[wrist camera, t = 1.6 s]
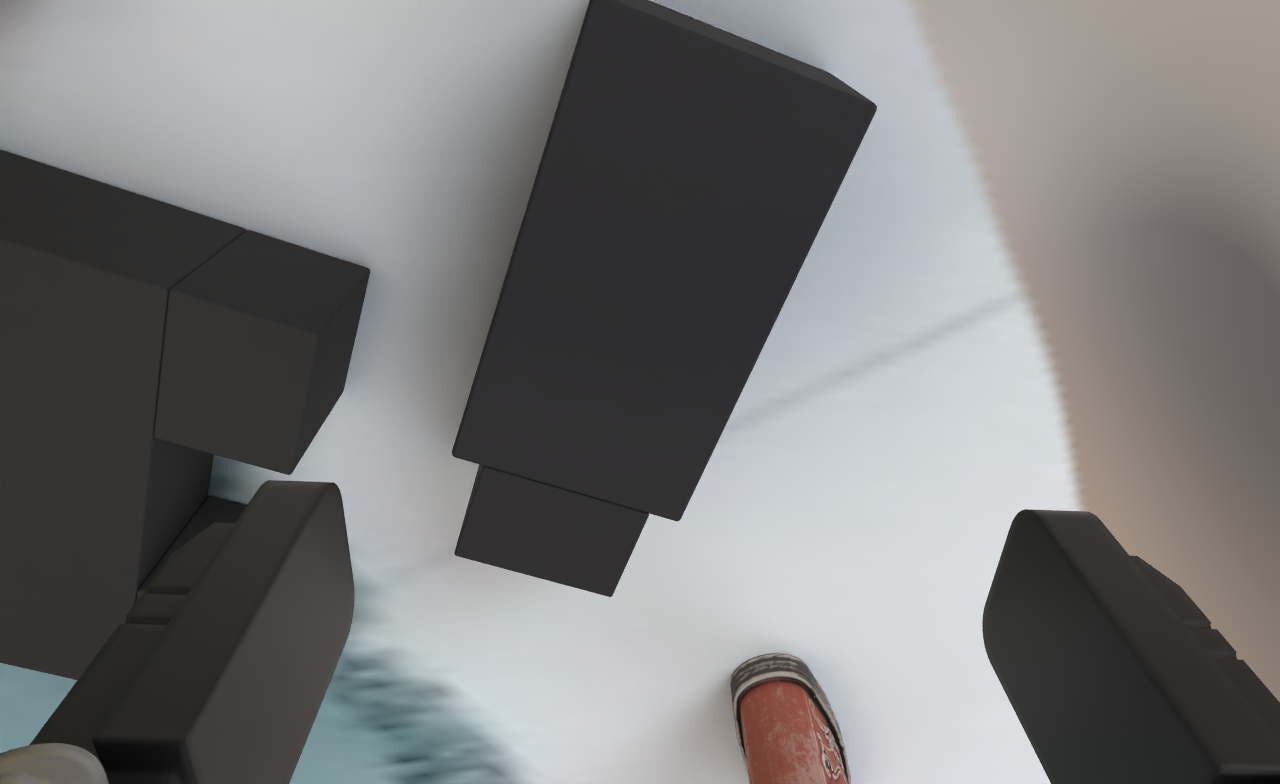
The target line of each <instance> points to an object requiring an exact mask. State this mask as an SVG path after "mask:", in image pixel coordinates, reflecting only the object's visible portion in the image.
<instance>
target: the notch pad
mask: <svg viewBox="0 0 1280 784" xmlns="http://www.w3.org/2000/svg"><path fill="white" fill-rule="evenodd" d="M369 274H370V269H368V268H365V267H362V266H359V265H356V264H353V263H350V262H347V261H343V260H340V259H337V258H334V257H331V256H328V255H325V254H322V253H319V252H316V251H312V250H309V249H306V248H303V247H300V246H297V245H294V244H291V243H288V242H285V241H281V240H278V239H275V238H272V237H269V236H266V235H263V234H260V233H257V232H254V231H250V230H247V231H246V230H245V229H244V228H241V227H238V226H235V225H232V224H228V223H225V222H222V221H219V220H216V219H213V218H210V217H207V216H204V215H201V214H197V213H194V212H191V211H188V210H185V209H182V208H179V207H176V206H173V205H170V204H167V203H163V202H160V201H157V200H154V199H151V198H148V197H145V196H142V195H139V194H136V193H132V192H129V191H126V190H123V189H120V188H117V187H114V186H111V185H108V184H105V183H101V182H98V181H95V180H92V179H89V178H86V177H83V176H80V175H77V174H74V173H70V172H67V171H64V170H61V169H58V168H55V167H52V166H49V165H46V164H43V163H39V162H36V161H33V160H30V159H27V158H24V157H21V156H18V155H15V154H12V153H9V152H5V151H2V150H0V663H4V664H9V665H13V666H18V667H22V668H27V669H31V670H35V671H40V672H44V673H49V674H53V675H58V676H62V677H67V678H71V679H76V680H78V679H79V678H80V677H81V675H82V674H83V673H84V671H85V670H86V669H87V667H88V666H89V665H90V663H91V662H92V661H93V659H94V658H95V657H96V655H97V654H98V653H99V651H100V650H101V648H102V647H103V646H104V644H105V643H106V642H107V640H108V639H109V638H110V636H111V635H112V634H113V632H114V631H115V630H116V628H117V627H118V626H119V624H124V623H125V621H126V615H127V614H128V612H129V611H130V610H131V608H132V607H133V606H134V604H135V603H136V601H137V600H138V599H139V597H140V596H141V595H142V593H146V594H147V591H148V585H149V584H150V583H151V581H152V580H153V579H154V577H155V576H156V575H157V573H158V572H159V571H160V569H161V568H162V567H163V565H164V564H165V563H166V561H167V560H168V558H169V557H170V556H171V554H172V553H173V552H174V551H175V550H176V549H178V548H179V547H181V546H182V545H184V544H185V543H186V542H188V541H189V540H191V539H192V538H193V537H195V536H196V535H198V534H199V533H200V532H202V531H203V530H205V529H206V528H208V527H209V526H210V525H212V524H213V523H236V522H237V520H238V519H239V517H240V516H241V514H242V513H243V511H244V510H245V508H246V507H247V506H245V505H242V504H238V503H234V502H230V501H227V500H223V499H219V498H215V497H212V496H209V497H207V494H208V487H209V480H210V474H211V467H212V460H213V454H215V455H218V456H222V457H226V458H229V459H233V460H236V461H240V462H244V463H247V464H251V465H255V466H258V467H262V468H266V469H269V470H273V471H276V472H280V473H284V474H287V475H290V474H291V473H292V472H293V470H294V469H295V467H296V466H297V464H298V462H299V461H300V459H301V458H302V456H303V455H304V453H305V451H306V450H307V448H308V447H309V445H310V443H311V442H312V440H313V439H314V437H315V435H316V434H317V432H318V431H319V429H320V427H321V426H322V424H323V423H324V421H325V419H326V418H327V416H328V415H329V413H330V411H331V410H332V408H333V407H334V405H335V403H336V402H337V400H338V399H339V397H340V396H341V394H342V392H343V390H344V386H345V381H346V377H347V372H348V368H349V363H350V359H351V354H352V350H353V345H354V341H355V336H356V332H357V328H358V323H359V319H360V314H361V310H362V305H363V301H364V296H365V292H366V287H367V283H368V278H369Z"/></svg>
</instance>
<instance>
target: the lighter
mask: <svg viewBox="0 0 1280 784" xmlns="http://www.w3.org/2000/svg"><path fill="white" fill-rule="evenodd" d="M731 692H732V701H733V710H734V718H735V725H736V733H737V739H738V742H739V745H740V749H741V752H742V756H743V759H744V762H745V766H746V769H747V771H748V774H749V781H750V784H851V776H850V771H849V767H848V762H847V757H846V752H845V747H844V743H843V740H842V736H841V732H840V728H839V725H838V722H837V720H836V718H835V716H834V713H833V711H832V709H831V706H830V704H829V702H828V700H827V697H826V695H825V693H824V692H823V690H822V689H821V687H820V685H819V684H818V682H817V681H816V679H815V678H814V676H813V675H812V673H811V672H810V670H809V669H808V667H807V666H806V665H805V664H804V663H803V662H802V661H801V660H800V659H798V658H795V657H792V656H790V655H782V654H770V655H763V656H759V657H757V658H754V659H751V660H748V661H747V662H746V663H744V664H743V665H741V666H740V667H738V669H737V670H736V671H735V673H734V674H733V675H732V679H731Z"/></svg>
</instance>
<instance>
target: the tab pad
mask: <svg viewBox="0 0 1280 784" xmlns="http://www.w3.org/2000/svg"><path fill="white" fill-rule="evenodd" d="M876 109H877V106H876V105H875V104H874V103H873V102H872V101H870V100H869V99H867V98H866V97H864V96H863V95H861V94H860V93H858V92H857V91H855V90H854V89H852V88H851V87H849V86H848V85H847V84H845V83H844V82H842V81H841V80H839V79H838V78H836V77H835V76H833V75H832V74H830V73H828V72H826V71H823V70H821V69H818V68H816V67H813V66H811V65H808V64H806V63H803V62H801V61H798V60H796V59H793V58H791V57H788V56H786V55H783V54H781V53H778V52H776V51H773V50H771V49H768V48H766V47H763V46H761V45H758V44H756V43H753V42H751V41H748V40H746V39H743V38H741V37H739V36H736V35H734V34H731V33H729V32H726V31H724V30H721V29H719V28H716V27H714V26H711V25H709V24H706V23H704V22H701V21H699V20H696V19H694V18H691V17H689V16H686V15H684V14H681V13H679V12H676V11H674V10H671V9H669V8H666V7H664V6H661V5H659V4H656V3H654V2H651V1H649V0H590V2H589V5H588V8H587V11H586V15H585V18H584V21H583V24H582V28H581V31H580V34H579V38H578V41H577V44H576V47H575V51H574V54H573V57H572V60H571V64H570V67H569V70H568V74H567V77H566V80H565V83H564V87H563V90H562V93H561V96H560V100H559V103H558V106H557V110H556V113H555V116H554V119H553V123H552V126H551V129H550V132H549V136H548V139H547V142H546V146H545V149H544V152H543V155H542V159H541V162H540V165H539V169H538V172H537V175H536V178H535V182H534V185H533V188H532V191H531V195H530V198H529V201H528V205H527V208H526V211H525V214H524V218H523V221H522V224H521V227H520V231H519V234H518V237H517V241H516V244H515V247H514V250H513V254H512V257H511V260H510V263H509V267H508V270H507V273H506V277H505V280H504V283H503V286H502V290H501V293H500V296H499V299H498V303H497V306H496V309H495V313H494V316H493V319H492V322H491V326H490V329H489V332H488V335H487V339H486V342H485V345H484V349H483V352H482V355H481V358H480V362H479V365H478V368H477V371H476V375H475V378H474V381H473V385H472V388H471V391H470V394H469V398H468V401H467V404H466V407H465V411H464V414H463V417H462V421H461V424H460V427H459V430H458V434H457V437H456V440H455V444H454V447H453V450H452V455H453V456H454V457H456V458H460V459H463V460H467V461H470V462H473V463H477V464H479V468H478V471H477V475H476V478H475V482H474V485H473V489H472V492H471V496H470V500H469V503H468V507H467V510H466V514H465V517H464V521H463V524H462V528H461V532H460V535H459V539H458V542H457V546H456V549H455V555H456V556H459V557H463V558H467V559H470V560H474V561H478V562H482V563H485V564H489V565H493V566H497V567H500V568H504V569H508V570H512V571H515V572H519V573H523V574H526V575H530V576H534V577H538V578H541V579H545V580H549V581H553V582H556V583H560V584H564V585H567V586H571V587H575V588H579V589H582V590H586V591H590V592H594V593H597V594H601V595H605V596H609V597H611V596H612V595H613V593H614V591H615V589H616V586H617V584H618V582H619V580H620V578H621V575H622V573H623V571H624V569H625V567H626V565H627V562H628V560H629V558H630V556H631V554H632V551H633V549H634V547H635V545H636V543H637V540H638V538H639V536H640V534H641V532H642V529H643V527H644V525H645V523H646V521H647V518H648V516H649V513H650V514H654V515H657V516H660V517H664V518H667V519H671V520H674V521H679V520H680V519H681V517H682V515H683V513H684V511H685V509H686V507H687V505H688V503H689V501H690V498H691V496H692V494H693V492H694V490H695V488H696V486H697V484H698V482H699V480H700V478H701V476H702V473H703V471H704V469H705V467H706V465H707V463H708V461H709V459H710V457H711V455H712V453H713V450H714V448H715V446H716V444H717V442H718V440H719V438H720V436H721V434H722V432H723V430H724V427H725V425H726V423H727V421H728V419H729V417H730V415H731V413H732V411H733V409H734V407H735V405H736V402H737V400H738V398H739V396H740V394H741V392H742V390H743V388H744V386H745V384H746V382H747V379H748V377H749V375H750V373H751V371H752V369H753V367H754V365H755V363H756V361H757V359H758V356H759V354H760V352H761V350H762V348H763V346H764V344H765V342H766V340H767V338H768V336H769V334H770V331H771V329H772V327H773V325H774V323H775V321H776V319H777V317H778V315H779V313H780V311H781V308H782V306H783V304H784V302H785V300H786V298H787V296H788V294H789V292H790V290H791V288H792V285H793V283H794V281H795V279H796V277H797V275H798V273H799V271H800V269H801V267H802V265H803V263H804V260H805V258H806V256H807V254H808V252H809V250H810V248H811V246H812V244H813V242H814V240H815V237H816V235H817V233H818V231H819V229H820V227H821V225H822V223H823V221H824V219H825V217H826V214H827V212H828V210H829V208H830V206H831V204H832V202H833V200H834V198H835V196H836V194H837V192H838V189H839V187H840V185H841V183H842V181H843V179H844V177H845V175H846V173H847V171H848V169H849V166H850V164H851V162H852V160H853V158H854V156H855V154H856V152H857V150H858V148H859V146H860V143H861V141H862V139H863V137H864V135H865V133H866V131H867V129H868V127H869V125H870V123H871V121H872V118H873V116H874V114H875V112H876Z"/></svg>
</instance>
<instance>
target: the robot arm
mask: <svg viewBox="0 0 1280 784" xmlns="http://www.w3.org/2000/svg"><path fill="white" fill-rule="evenodd" d="M353 610H354V581H353V574H352V567H351V559H350V552H349V545H348V538H347V531H346V524H345V517H344V509H343V502H342V497H341V493H340V490H339V488H338V486H337V485H336V484H335V483H328V482H300V481H272V480H268V481H266V482H264V483H263V484H262V485H261V487H260V488H259V489H258V491H257V492H256V494H255V495H254V497H253V498H252V500H251V501H250V502H249V504H248V505H247V507H246V508H245V510H244V511H243V513H242V514H241V516H240V517H239V519H238V520H237V522H236V523H213V524H212V525H210V526H209V527H208V528H206V529H205V530H203V531H202V532H200V533H199V534H198V535H196V536H195V537H193V538H192V539H191V540H189V541H188V542H186V543H185V544H184V545H182V546H181V547H179V548H178V549H176V550H175V551H174V552H173V553H172V554H171V556H170V557H169V558H168V560H167V561H166V563H165V564H164V565H163V567H162V568H161V569H160V571H159V572H158V573H157V575H156V576H155V577H154V579H153V580H152V581H151V583H150V584H149V585H148V591H147V594H146V593H142V595H141V596H140V597H139V599H138V600H137V601H136V603H135V604H134V606H133V607H132V608H131V610H130V611H129V612H128V614H127V615H126V621H125V623H124V624H119V626H118V627H117V628H116V630H115V631H114V632H113V634H112V635H111V636H110V638H109V639H108V640H107V642H106V643H105V644H104V646H103V647H102V648H101V650H100V651H99V653H98V654H97V655H96V657H95V658H94V659H93V661H92V662H91V663H90V665H89V666H88V667H87V669H86V670H85V671H84V673H83V674H82V675H81V677H80V678H79V679H78V681H77V682H76V683H75V685H74V686H73V687H72V689H71V690H70V691H69V693H68V694H67V696H66V697H65V698H64V700H63V701H62V702H61V704H60V705H59V706H58V708H57V709H56V710H55V712H54V713H53V714H52V716H51V717H50V718H49V720H48V721H47V722H46V724H45V725H44V726H43V728H42V729H41V730H40V732H39V733H38V734H37V736H36V737H35V738H34V740H33V741H32V742H31V743H30V745H29V746H24V747H20V748H16V749H12V750H9V751H6V752H3V753H1V754H0V784H289V783H290V780H291V778H292V775H293V773H294V770H295V768H296V765H297V763H298V760H299V758H300V755H301V753H302V750H303V748H304V745H305V743H306V740H307V738H308V735H309V733H310V730H311V728H312V725H313V723H314V720H315V718H316V715H317V713H318V711H319V708H320V706H321V703H322V701H323V698H324V696H325V693H326V691H327V688H328V686H329V683H330V681H331V678H332V676H333V673H334V671H335V668H336V666H337V663H338V661H339V658H340V656H341V653H342V651H343V648H344V646H345V643H346V641H347V638H348V635H349V631H350V628H351V623H352V617H353ZM1210 624H1211V622H1210V621H1209V619H1208V618H1207V617H1206V616H1205V615H1204V614H1203V612H1202V611H1201V610H1200V609H1199V608H1198V607H1197V605H1195V603H1194V602H1193V601H1192V600H1191V599H1190V597H1189V596H1188V595H1187V594H1186V593H1185V591H1184V590H1183V589H1182V588H1181V587H1180V586H1179V585H1177V584H1176V583H1174V582H1173V581H1172V580H1170V579H1169V578H1167V577H1166V576H1165V575H1163V574H1162V573H1160V572H1159V571H1158V570H1156V569H1155V568H1153V567H1152V566H1151V565H1149V564H1148V563H1146V562H1145V561H1144V560H1142V559H1141V558H1139V557H1138V556H1129V555H1128V554H1127V552H1126V551H1125V550H1124V549H1123V547H1122V546H1121V545H1120V544H1119V542H1118V541H1117V540H1116V539H1115V538H1114V536H1113V535H1112V534H1111V533H1110V531H1109V530H1108V529H1107V528H1106V527H1105V525H1104V524H1103V523H1102V522H1101V520H1100V519H1099V518H1098V517H1097V516H1095V515H1094V514H1092V513H1090V512H1081V511H1053V510H1022V511H1021V512H1019V513H1018V514H1017V515H1016V516H1015V518H1014V520H1013V521H1012V524H1011V527H1010V530H1009V533H1008V536H1007V539H1006V542H1005V545H1004V548H1003V551H1002V554H1001V557H1000V560H999V564H998V567H997V570H996V573H995V576H994V579H993V582H992V585H991V588H990V591H989V594H988V598H987V601H986V604H985V608H984V613H983V638H984V644H985V649H986V652H987V655H988V658H989V660H990V663H991V665H992V667H993V669H994V671H995V673H996V675H997V677H998V679H999V681H1000V683H1001V685H1002V687H1003V689H1004V691H1005V693H1006V695H1007V697H1008V699H1009V701H1010V703H1011V704H1012V706H1013V708H1014V710H1015V712H1016V714H1017V716H1018V718H1019V720H1020V722H1021V724H1022V726H1023V728H1024V730H1025V732H1026V734H1027V736H1028V738H1029V740H1030V742H1031V744H1032V746H1033V748H1034V750H1035V752H1036V754H1037V756H1038V758H1039V760H1040V762H1041V764H1042V766H1043V768H1044V770H1045V772H1046V774H1047V776H1048V778H1049V780H1050V782H1051V784H1280V703H1279V701H1278V700H1277V699H1276V698H1275V697H1274V696H1273V695H1272V693H1271V692H1270V691H1269V690H1268V688H1267V687H1266V686H1265V685H1264V684H1263V683H1262V681H1260V679H1259V678H1258V677H1257V676H1256V674H1255V673H1254V672H1253V671H1252V670H1251V669H1250V667H1249V666H1248V665H1247V664H1246V663H1245V662H1244V661H1243V660H1238V659H1237V658H1236V651H1235V650H1234V649H1233V648H1232V646H1231V645H1230V644H1229V643H1228V642H1227V641H1226V639H1225V638H1224V637H1223V636H1222V635H1221V634H1220V632H1219V631H1218V630H1217V629H1211V626H1210Z"/></svg>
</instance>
